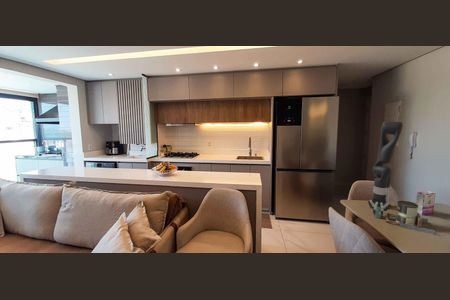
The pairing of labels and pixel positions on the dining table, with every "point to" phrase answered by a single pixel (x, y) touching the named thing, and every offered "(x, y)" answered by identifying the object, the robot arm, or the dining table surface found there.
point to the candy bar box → (425, 202)
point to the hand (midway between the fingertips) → (377, 214)
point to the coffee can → (406, 212)
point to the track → (418, 227)
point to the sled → (378, 215)
